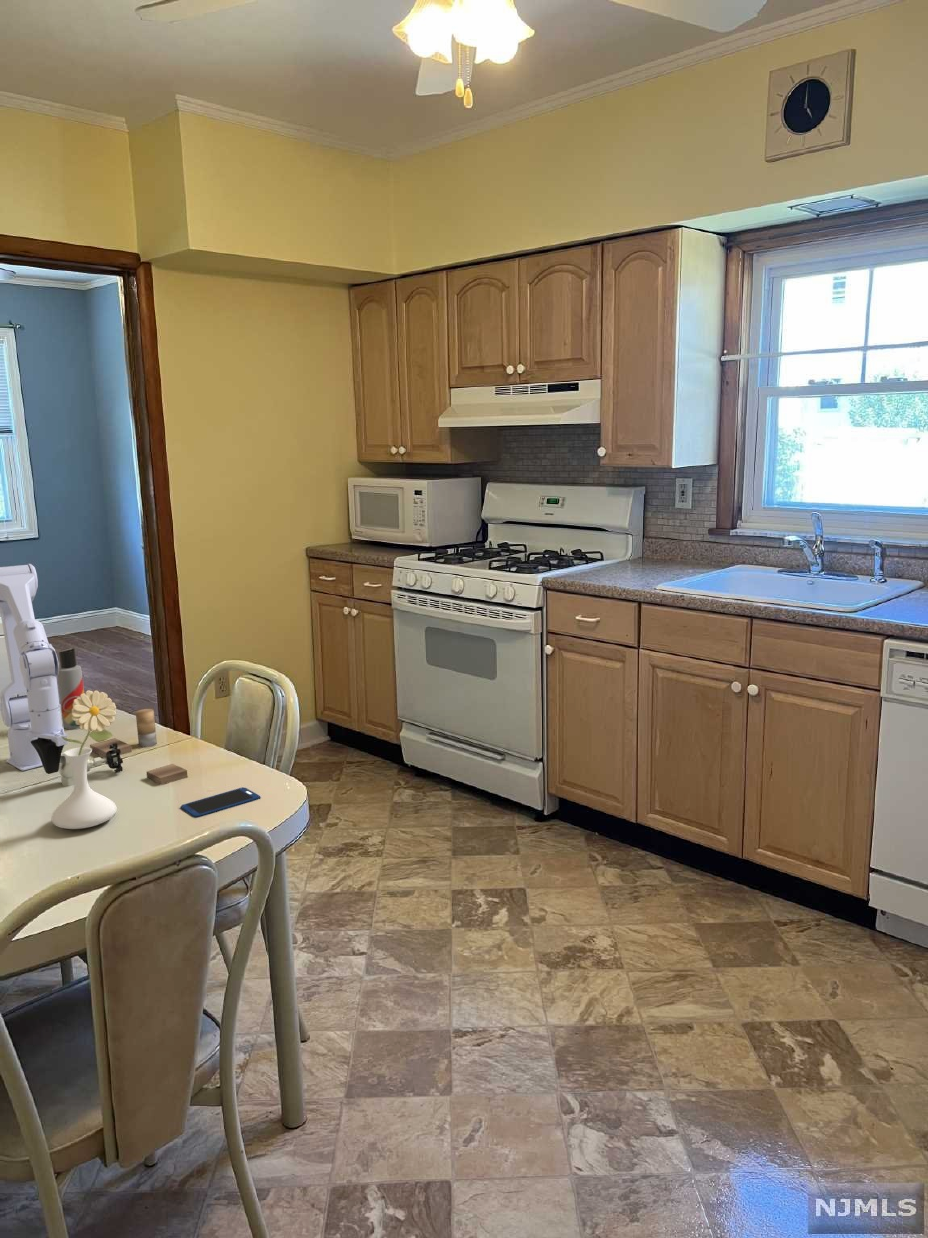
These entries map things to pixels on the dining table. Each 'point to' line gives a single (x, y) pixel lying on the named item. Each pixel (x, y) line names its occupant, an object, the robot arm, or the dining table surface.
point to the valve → (91, 764)
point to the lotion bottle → (69, 685)
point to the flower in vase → (84, 802)
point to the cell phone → (219, 802)
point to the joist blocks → (155, 775)
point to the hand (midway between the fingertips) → (52, 772)
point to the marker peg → (146, 728)
